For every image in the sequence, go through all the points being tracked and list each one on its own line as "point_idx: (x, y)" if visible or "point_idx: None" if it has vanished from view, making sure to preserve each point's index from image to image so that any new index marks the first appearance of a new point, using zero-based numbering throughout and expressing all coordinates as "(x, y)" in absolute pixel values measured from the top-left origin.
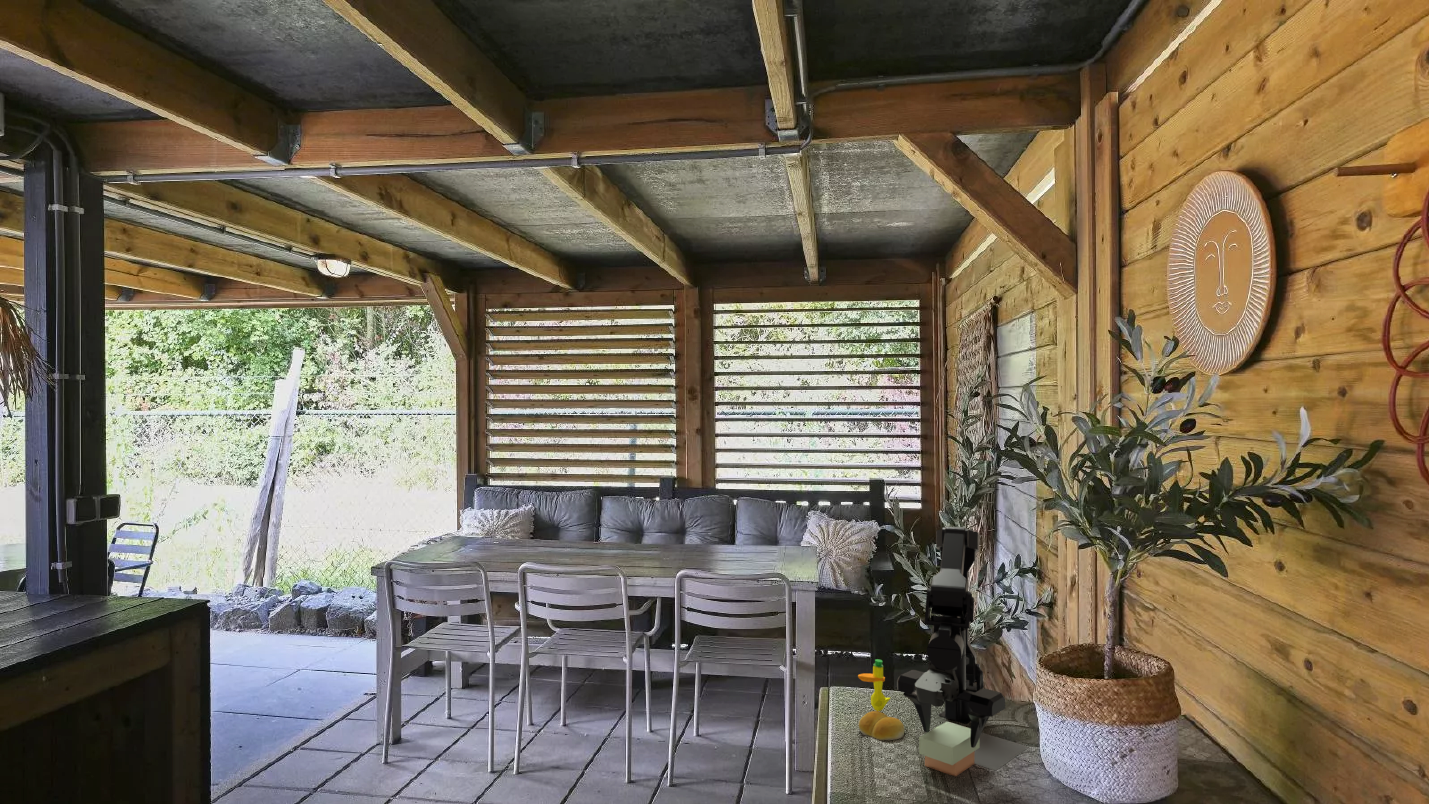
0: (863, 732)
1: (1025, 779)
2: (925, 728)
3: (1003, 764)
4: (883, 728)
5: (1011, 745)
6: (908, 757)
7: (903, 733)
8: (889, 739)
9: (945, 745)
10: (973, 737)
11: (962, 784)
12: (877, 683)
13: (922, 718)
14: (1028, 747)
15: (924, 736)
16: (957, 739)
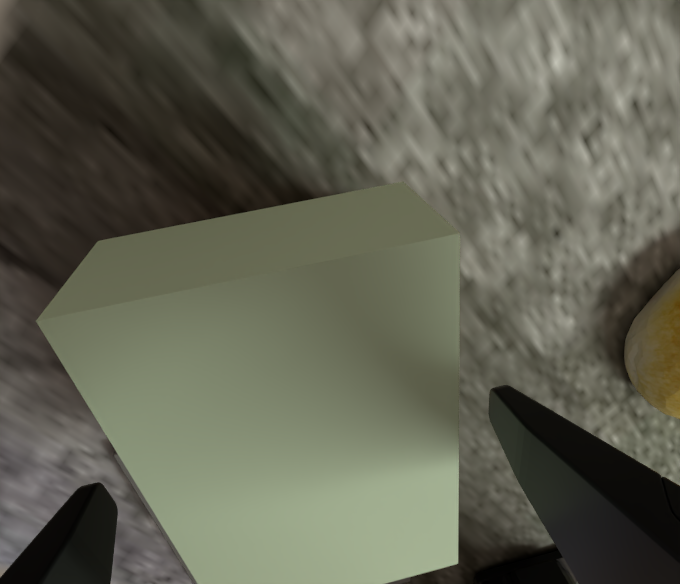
0: None
1: (6, 502)
2: (512, 406)
3: (151, 511)
4: None
5: None
6: (508, 234)
7: (634, 377)
8: (670, 287)
9: (133, 307)
10: (10, 579)
11: (86, 230)
12: None
13: (591, 463)
14: None
15: (428, 288)
16: (194, 471)
